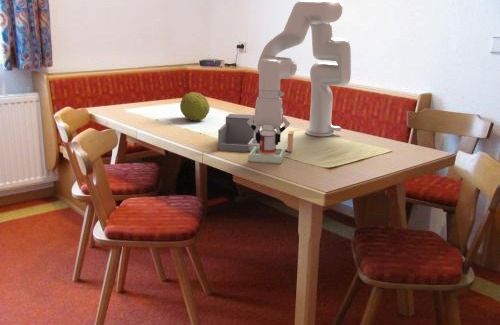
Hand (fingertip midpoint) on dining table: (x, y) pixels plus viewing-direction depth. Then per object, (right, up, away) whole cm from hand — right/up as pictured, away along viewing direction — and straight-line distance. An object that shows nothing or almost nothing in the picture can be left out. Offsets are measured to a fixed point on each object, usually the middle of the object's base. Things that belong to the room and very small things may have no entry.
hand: (267, 142), depth 177 cm
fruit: (-34, +14, +64) cm, 74 cm away
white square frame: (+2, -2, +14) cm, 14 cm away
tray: (0, -6, +2) cm, 6 cm away
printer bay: (-11, 0, +20) cm, 23 cm away
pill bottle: (0, -4, +1) cm, 4 cm away
